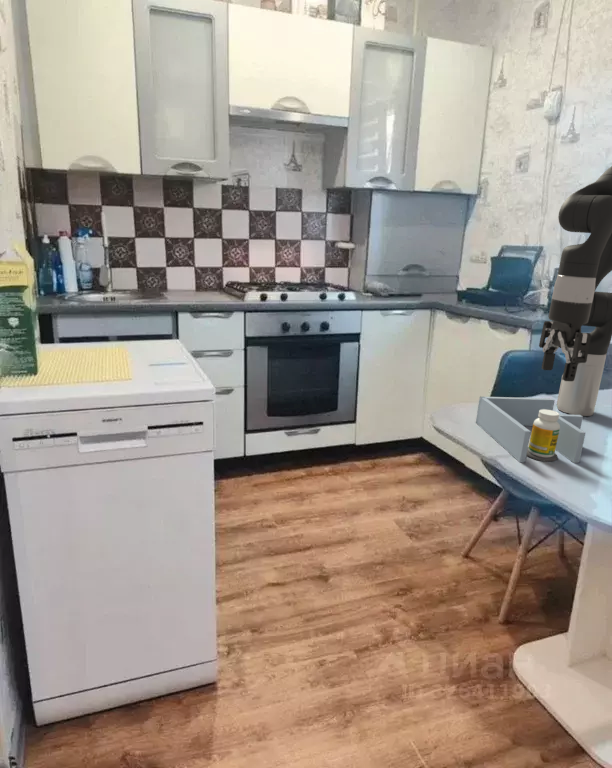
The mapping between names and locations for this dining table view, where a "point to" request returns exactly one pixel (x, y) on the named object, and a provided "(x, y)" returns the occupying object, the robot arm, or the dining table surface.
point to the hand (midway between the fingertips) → (556, 375)
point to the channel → (512, 413)
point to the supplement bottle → (544, 434)
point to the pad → (542, 457)
